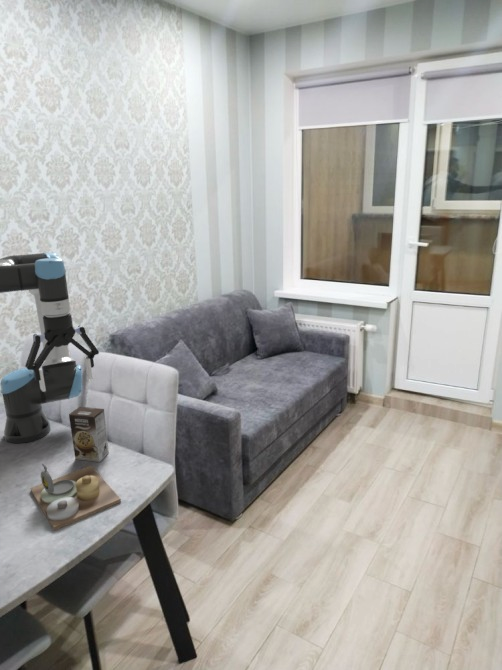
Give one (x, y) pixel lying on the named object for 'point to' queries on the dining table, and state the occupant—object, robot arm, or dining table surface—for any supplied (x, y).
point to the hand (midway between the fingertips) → (67, 384)
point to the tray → (76, 498)
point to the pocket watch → (55, 484)
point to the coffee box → (89, 434)
